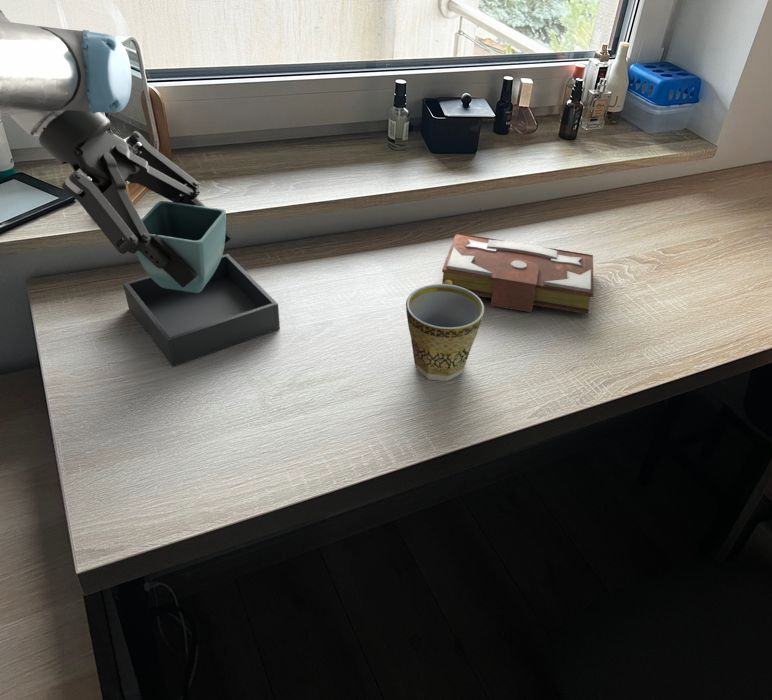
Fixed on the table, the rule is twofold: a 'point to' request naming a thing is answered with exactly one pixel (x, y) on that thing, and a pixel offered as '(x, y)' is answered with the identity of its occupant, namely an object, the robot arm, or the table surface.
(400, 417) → the table surface
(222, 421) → the table surface
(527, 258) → the book
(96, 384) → the table surface
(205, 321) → the tote
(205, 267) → the flower pot
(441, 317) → the ceramic cup
